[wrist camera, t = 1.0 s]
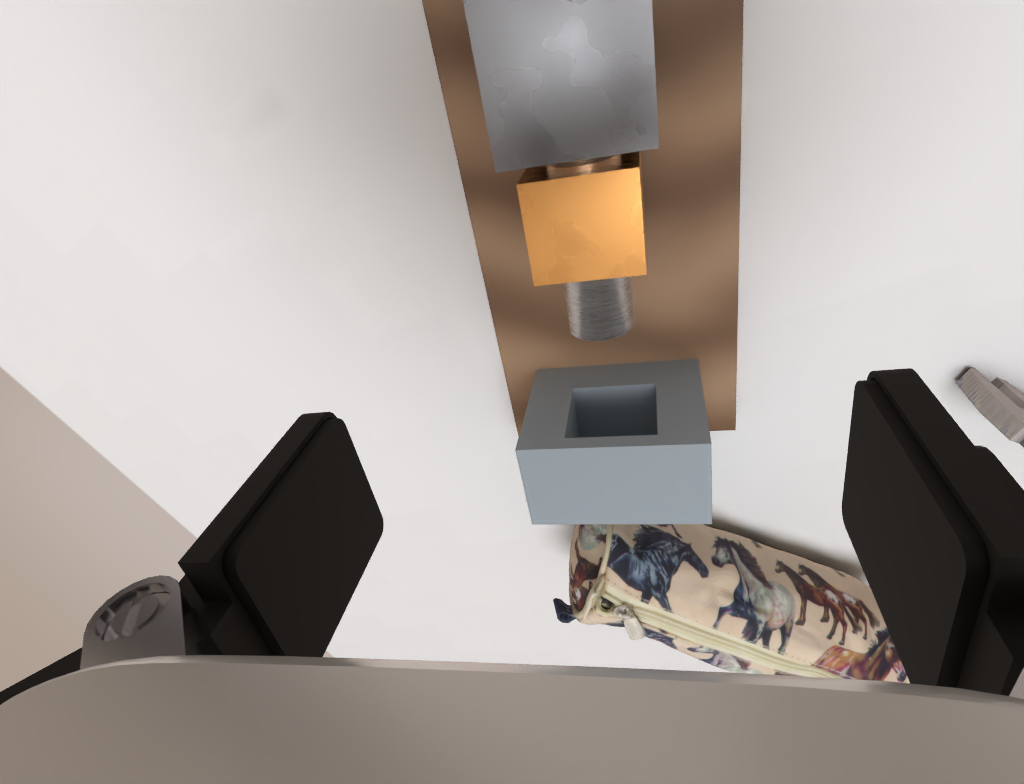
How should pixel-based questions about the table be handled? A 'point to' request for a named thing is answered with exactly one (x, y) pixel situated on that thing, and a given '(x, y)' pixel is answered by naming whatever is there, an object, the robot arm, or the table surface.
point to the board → (667, 201)
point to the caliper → (996, 403)
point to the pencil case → (728, 601)
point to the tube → (588, 238)
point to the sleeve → (564, 78)
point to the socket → (617, 445)
